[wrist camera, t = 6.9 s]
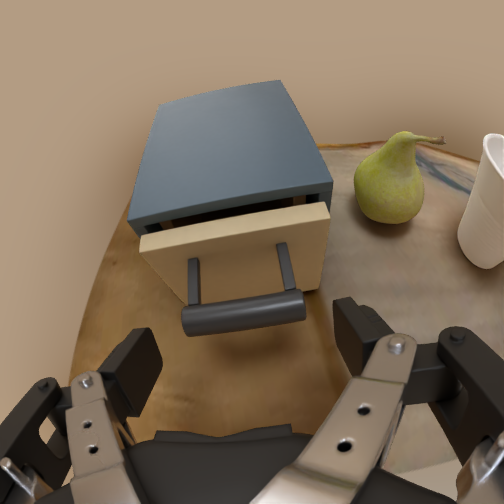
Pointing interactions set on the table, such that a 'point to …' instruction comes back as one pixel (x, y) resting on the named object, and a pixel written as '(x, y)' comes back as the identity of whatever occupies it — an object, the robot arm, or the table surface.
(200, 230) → the drawer
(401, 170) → the fruit
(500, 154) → the cup
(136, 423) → the table surface
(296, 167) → the cabinet
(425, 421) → the table surface
